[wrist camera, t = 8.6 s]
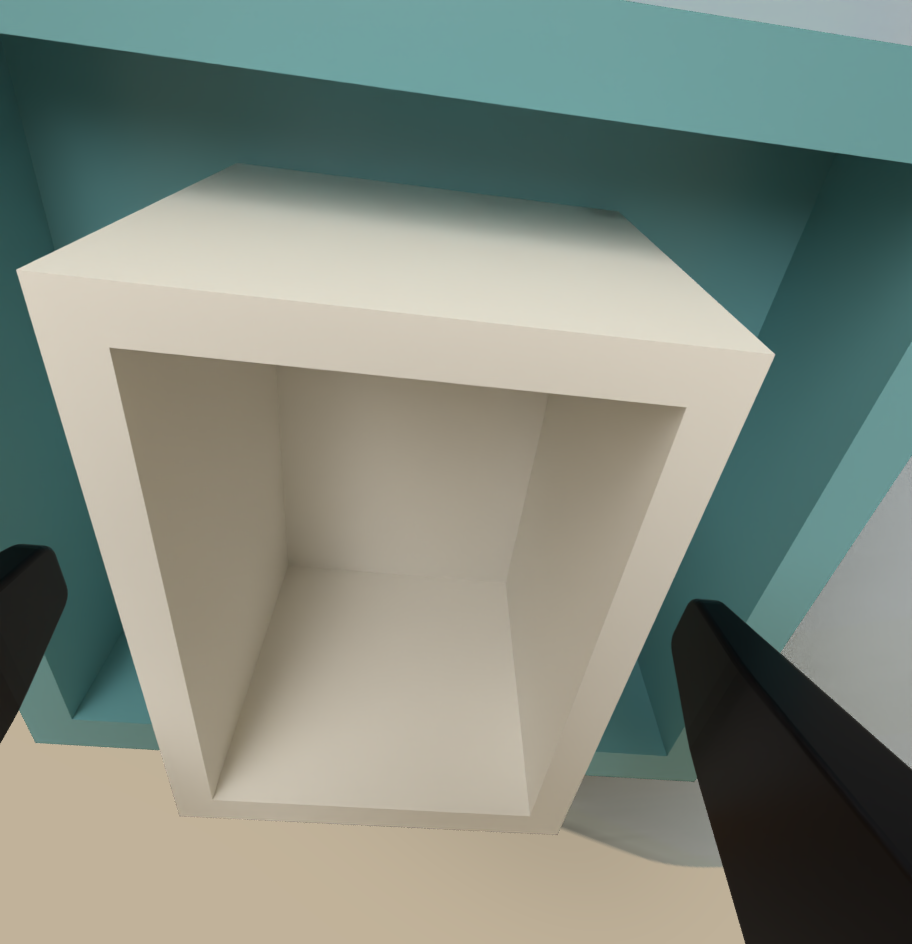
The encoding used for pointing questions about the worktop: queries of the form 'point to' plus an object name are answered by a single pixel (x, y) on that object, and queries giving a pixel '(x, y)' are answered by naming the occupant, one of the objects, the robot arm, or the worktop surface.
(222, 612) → the small crate
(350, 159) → the big crate
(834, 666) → the worktop surface
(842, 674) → the worktop surface
